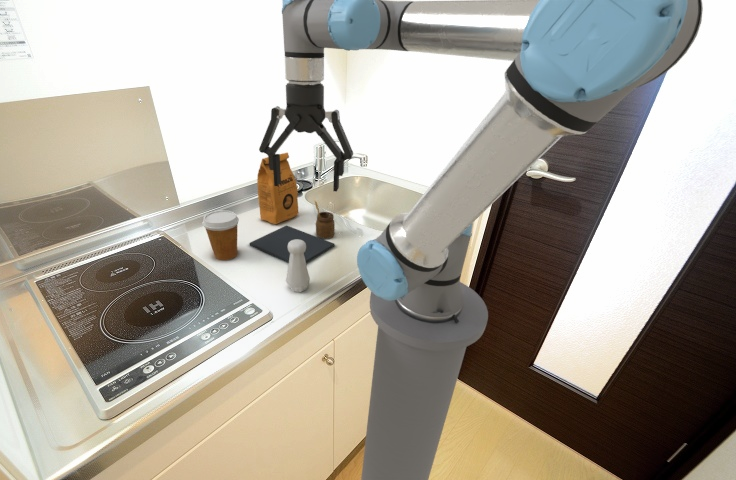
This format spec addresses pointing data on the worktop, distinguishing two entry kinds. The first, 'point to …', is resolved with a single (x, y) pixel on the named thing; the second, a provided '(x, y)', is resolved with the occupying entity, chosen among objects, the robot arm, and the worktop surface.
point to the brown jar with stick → (325, 224)
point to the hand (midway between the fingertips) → (306, 186)
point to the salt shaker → (297, 266)
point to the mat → (280, 238)
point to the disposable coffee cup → (222, 233)
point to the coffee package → (277, 192)
